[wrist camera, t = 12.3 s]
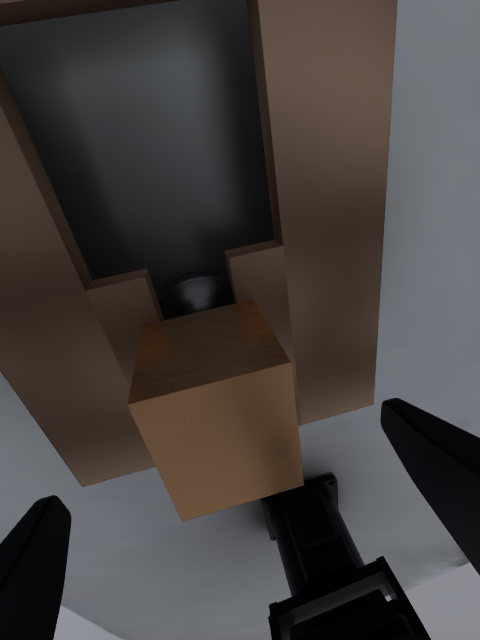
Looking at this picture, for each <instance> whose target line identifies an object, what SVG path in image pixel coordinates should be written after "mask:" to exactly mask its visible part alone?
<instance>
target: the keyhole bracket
mask: <svg viewBox="0 0 480 640" xmlns="http://www.w3.org/2000/svg"><path fill="white" fill-rule="evenodd" d="M170 1H177V0H0V26H6V25H13V24H19V23H26V22H33V21H40V20H47V19H54V18H61V17H67V16H74V15H81V14H88V13H95V12H102V11H109V10H115V9H122V8H129V7H136V6H143V5H150V4H156V3H163V2H170ZM247 6H248V14H249V23H250V32H251V40H252V49H253V58H254V66H255V75H256V84H257V92H258V101H259V110H260V118H261V127H262V136H263V144H264V153H265V162H266V170H267V179H268V188H269V196H270V205H271V214H272V223H273V231H274V240H271V241H266V242H262V243H257V244H253V245H248V246H244V247H239V248H235V249H231V250H226V251H224V252H225V257H226V262H227V267H228V273H229V278H230V283H231V288H232V293H233V298H234V303H240V302H244V301H248V300H252V299H254V301H255V302H256V304H257V306H258V307H259V309H260V311H261V312H262V314H263V316H264V317H265V319H266V321H267V322H268V324H269V326H270V327H271V329H272V331H273V332H274V334H275V336H276V337H277V339H278V341H279V343H280V344H281V346H282V348H283V349H284V351H285V353H286V354H287V356H288V358H289V359H290V361H291V364H292V374H293V384H294V393H295V403H296V412H297V422H298V426H300V425H303V424H307V423H310V422H314V421H317V420H321V419H324V418H328V417H331V416H335V415H338V414H342V413H345V412H349V411H352V410H356V409H359V408H363V407H366V406H370V405H373V404H374V387H375V370H376V353H377V337H378V320H379V303H380V286H381V269H382V252H383V236H384V219H385V202H386V185H387V168H388V151H389V134H390V118H391V101H392V84H393V67H394V50H395V33H396V17H397V0H247ZM163 320H164V317H163V314H162V311H161V308H160V305H159V302H158V299H157V296H156V293H155V290H154V287H153V284H152V281H151V278H150V275H149V272H148V269H147V268H146V269H141V270H137V271H132V272H128V273H124V274H119V275H115V276H110V277H106V278H101V279H97V280H92V277H91V275H90V273H89V270H88V268H87V266H86V264H85V261H84V259H83V257H82V254H81V252H80V250H79V247H78V245H77V243H76V241H75V238H74V236H73V234H72V231H71V229H70V227H69V224H68V222H67V220H66V218H65V215H64V213H63V211H62V208H61V206H60V204H59V201H58V199H57V197H56V195H55V192H54V190H53V188H52V185H51V183H50V181H49V178H48V176H47V174H46V172H45V169H44V167H43V165H42V162H41V160H40V158H39V156H38V153H37V151H36V149H35V146H34V144H33V142H32V139H31V137H30V135H29V133H28V130H27V128H26V126H25V123H24V121H23V119H22V116H21V114H20V112H19V110H18V107H17V105H16V103H15V100H14V98H13V96H12V93H11V91H10V89H9V87H8V84H7V82H6V80H5V77H4V75H3V73H2V70H1V68H0V371H1V372H2V374H3V375H4V377H5V378H6V380H7V381H8V382H9V384H10V385H11V387H12V388H13V389H14V391H15V392H16V394H17V395H18V397H19V398H20V399H21V401H22V402H23V404H24V405H25V407H26V408H27V409H28V411H29V412H30V414H31V415H32V416H33V418H34V419H35V421H36V422H37V424H38V425H39V426H40V428H41V429H42V431H43V432H44V434H45V435H46V436H47V438H48V439H49V441H50V442H51V444H52V445H53V446H54V448H55V449H56V451H57V452H58V453H59V455H60V456H61V458H62V459H63V461H64V462H65V463H66V465H67V466H68V468H69V469H70V471H71V472H72V473H73V475H74V476H75V478H76V479H77V481H78V482H79V483H80V485H81V486H82V487H85V486H88V485H92V484H95V483H99V482H102V481H106V480H109V479H113V478H116V477H120V476H123V475H127V474H130V473H134V472H138V471H141V470H145V469H148V468H152V467H155V466H156V465H155V463H154V461H153V459H152V456H151V454H150V452H149V450H148V448H147V446H146V444H145V442H144V440H143V437H142V435H141V433H140V431H139V429H138V427H137V425H136V423H135V420H134V418H133V416H132V414H131V412H130V410H129V408H128V406H127V403H128V398H129V393H130V388H131V383H132V378H133V373H134V368H135V363H136V358H137V353H138V348H139V343H140V338H141V333H142V328H143V325H147V324H151V323H155V322H159V321H163Z"/></svg>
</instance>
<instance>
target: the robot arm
mask: <svg viewBox="0 0 480 640" xmlns="http://www.w3.org/2000/svg"><path fill="white" fill-rule="evenodd" d="M380 421H381V426H382V429H383V431H384V432H385V434H386V436H387V438H388V439H389V441H390V443H391V445H392V446H393V448H394V450H395V451H396V453H397V455H398V457H399V458H400V460H401V462H402V464H403V465H404V467H405V469H406V471H407V472H408V474H409V476H410V477H411V479H412V480H413V482H414V483H415V485H416V486H417V488H418V489H419V491H420V492H421V494H422V495H423V496H424V498H425V499H426V501H427V502H428V503H429V505H430V506H431V508H432V509H433V510H434V512H435V513H436V515H437V516H438V518H439V519H440V520H441V522H442V523H443V525H444V526H445V527H446V529H447V530H448V532H449V533H450V534H451V536H452V537H453V539H454V540H455V541H456V543H457V544H458V546H459V547H460V548H461V550H462V551H463V553H464V554H465V555H466V557H467V558H468V560H469V561H470V563H471V564H472V565H473V567H474V568H475V569H476V571H477V572H478V573H479V575H480V438H479V437H477V436H475V435H473V434H471V433H469V432H467V431H464V430H462V429H460V428H458V427H456V426H454V425H452V424H450V423H448V422H446V421H444V420H442V419H440V418H438V417H436V416H434V415H432V414H430V413H428V412H426V411H424V410H422V409H420V408H418V407H416V406H414V405H411V404H409V403H407V402H405V401H403V400H401V399H399V398H392V399H389V400H385V401H383V403H382V407H381V420H380ZM261 501H262V505H263V509H264V514H265V518H266V522H267V527H268V531H269V535H270V539H271V540H273V541H275V540H276V541H277V544H278V548H279V552H280V555H281V559H282V563H283V567H284V570H285V574H286V578H287V581H288V585H289V589H290V592H291V596H292V597H290V598H288V599H286V600H283V601H281V602H279V603H277V602H274V603H272V604H270V605H269V609H270V616H269V617H268V619H269V624H270V629H271V637H272V640H431V639H430V637H429V635H428V633H427V631H426V630H425V628H424V626H423V624H422V622H421V621H420V619H419V617H418V615H417V614H416V612H415V610H414V609H413V607H412V605H411V603H410V602H409V600H408V598H407V596H406V595H405V593H404V591H403V589H402V588H401V586H400V584H399V582H398V581H397V579H396V577H395V575H394V574H393V572H392V570H391V568H390V567H389V565H388V563H387V562H386V560H385V558H384V556H381V557H379V558H376V561H374V562H372V563H369V564H367V565H364V563H363V561H362V558H361V556H360V554H359V552H358V550H357V548H356V546H355V544H354V542H353V540H352V537H351V535H350V533H349V531H348V529H347V527H346V525H345V523H344V521H343V519H342V517H341V514H340V512H339V510H338V487H337V479H336V477H335V476H334V475H328V476H325V477H321V478H318V479H315V480H311V481H308V482H305V483H304V486H300V487H297V488H294V489H290V490H287V491H284V492H280V493H277V494H274V495H270V496H267V497H264V498H261ZM70 529H71V514H70V512H69V510H68V509H67V508H66V506H65V505H64V504H63V503H62V501H61V500H60V499H59V498H58V497H57V496H55V495H52V496H48V497H45V498H41V499H39V500H37V501H36V502H35V503H34V504H33V505H32V507H31V508H30V509H29V510H28V511H27V512H26V514H25V515H24V516H23V517H22V518H21V520H20V521H19V522H18V523H17V524H16V526H15V527H14V528H13V529H12V530H11V532H10V533H9V534H8V535H7V536H6V538H5V539H4V540H3V541H2V542H1V544H0V640H53V638H54V633H55V628H56V624H57V619H58V614H59V609H60V605H61V599H62V594H63V588H64V581H65V573H66V564H67V555H68V546H69V538H70ZM387 595H390V597H391V599H392V600H390V601H388V602H387V600H386V599H385V596H387Z"/></svg>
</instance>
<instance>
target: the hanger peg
mask: <svg viewBox="0 0 480 640" xmlns="http://www.w3.org/2000/svg"><path fill="white" fill-rule="evenodd" d="M158 302H159V305H160V308H161V311H162V314H163V317H164V320H163V321H159V322H155V323H151V324H147V325H143V328H142V333H141V338H140V343H139V348H138V353H137V358H136V363H135V368H134V373H133V378H132V383H131V388H130V393H129V398H128V403H127V406H128V408H129V410H130V412H131V414H132V416H133V418H134V420H135V423H136V425H137V427H138V429H139V431H140V433H141V435H142V437H143V440H144V442H145V444H146V446H147V448H148V450H149V452H150V454H151V456H152V459H153V461H154V463H155V465H156V467H157V469H158V471H159V473H160V476H161V478H162V480H163V482H164V484H165V486H166V488H167V490H168V493H169V495H170V497H171V499H172V501H173V503H174V505H175V507H176V510H177V512H178V514H179V516H180V518H181V520H182V522H183V521H187V520H190V519H194V518H197V517H200V516H204V515H207V514H210V513H214V512H217V511H220V510H224V509H227V508H230V507H234V506H237V505H240V504H244V503H247V502H250V501H254V500H257V499H260V498H264V497H267V496H270V495H274V494H277V493H280V492H284V491H287V490H290V489H294V488H297V487H300V486H304V480H303V470H302V460H301V451H300V441H299V432H298V422H297V412H296V403H295V393H294V384H293V374H292V364H291V361H290V359H289V358H288V356H287V354H286V353H285V351H284V349H283V348H282V346H281V344H280V343H279V341H278V339H277V337H276V336H275V334H274V332H273V331H272V329H271V327H270V326H269V324H268V322H267V321H266V319H265V317H264V316H263V314H262V312H261V311H260V309H259V307H258V306H257V304H256V302H255V301H254V299H252V300H248V301H244V302H240V303H234V298H233V293H232V288H231V283H230V278H228V277H226V276H224V275H221V274H218V273H214V272H195V273H191V274H187V275H185V276H182V277H180V278H178V279H177V280H175V281H174V282H172V283H171V284H170V285H169V286H168V287H167V288H166V289H165V290H164V291H163V293H162V294H161V296H160V298H159V299H158Z"/></svg>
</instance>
